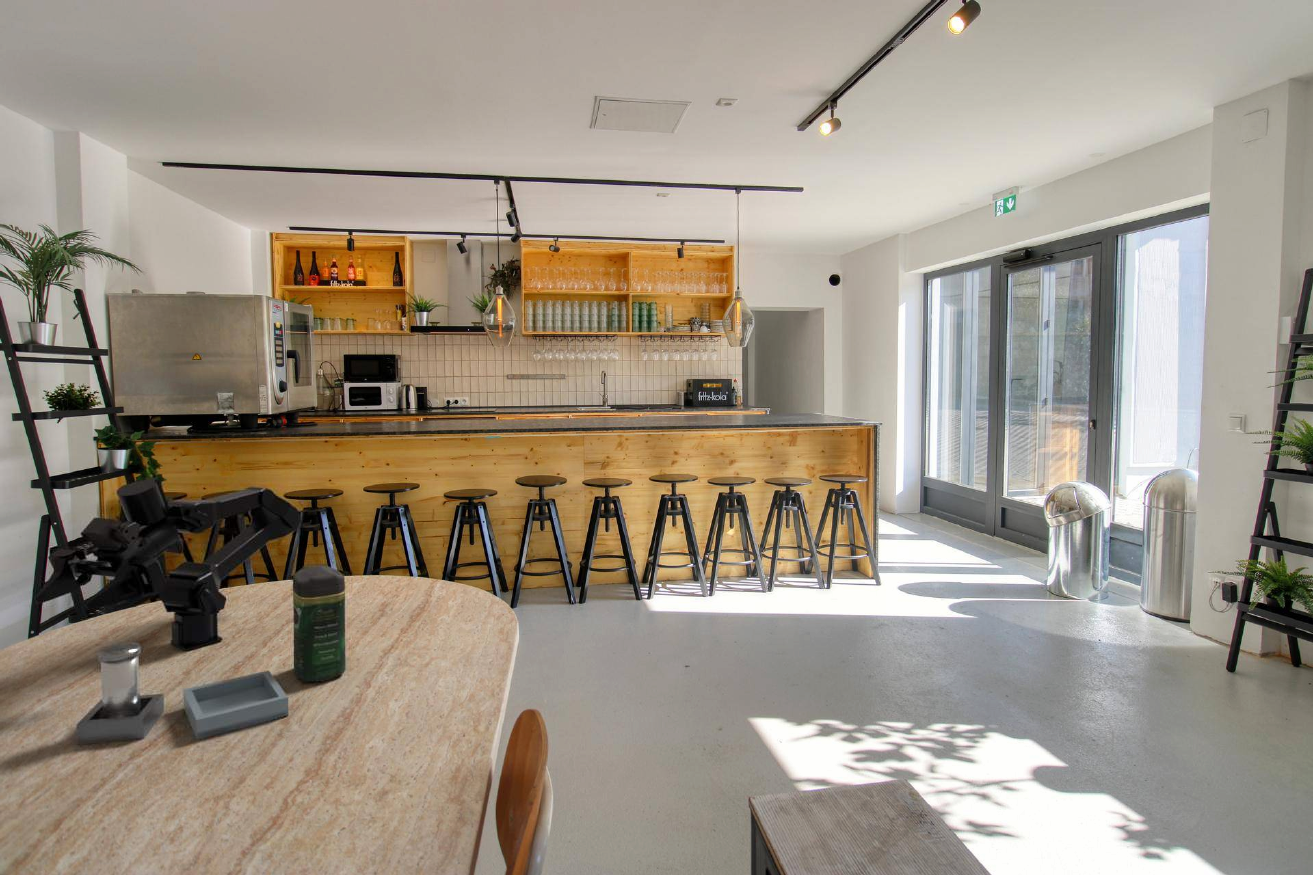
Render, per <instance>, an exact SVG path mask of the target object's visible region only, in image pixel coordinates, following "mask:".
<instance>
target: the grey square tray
mask: <svg viewBox="0 0 1313 875" xmlns="http://www.w3.org/2000/svg"><path fill="white" fill-rule="evenodd" d="M164 695H165V694H164V693H157V694H155V693H154V694H143V695H141V694H140V706H141V713H140V714H139V715H138V716H132V717H120V718H109V719H103V699H102V698H101V699H100V700H99V701H98V702H97V703H96V704H95V705H94V706H93V707H92V708H91V709H89V711H88V712H87V713H86V715H84V716H83V717H82V718H81V719H80V720H79V722H77V724H76V736H77V737H76V740H77V742H76V743H77V746H80V745H91V744H94V745H95V744H102V743H114V742H121V741H122V742H123V741H133V740H143V739H145V738H146V737H147V736H148V734H149V733H150V731H151V730H152V729H153V728H154V726H155V725H156V724H157V722H158V721H159V720H160V718H161V717H162V716H163V715H164V713H165V701H164V699H165V698H164V697H165V696H164ZM162 714H163V715H162Z"/></svg>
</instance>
